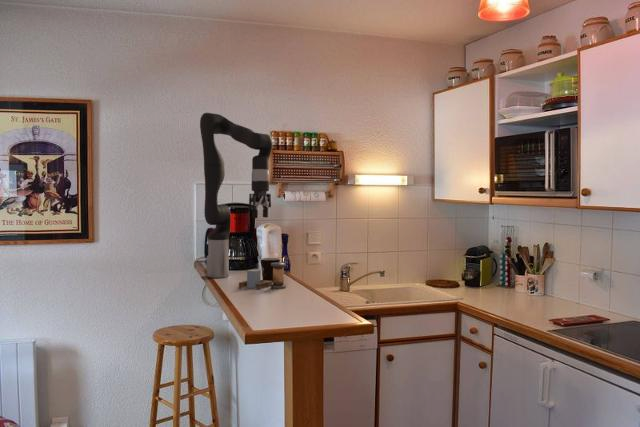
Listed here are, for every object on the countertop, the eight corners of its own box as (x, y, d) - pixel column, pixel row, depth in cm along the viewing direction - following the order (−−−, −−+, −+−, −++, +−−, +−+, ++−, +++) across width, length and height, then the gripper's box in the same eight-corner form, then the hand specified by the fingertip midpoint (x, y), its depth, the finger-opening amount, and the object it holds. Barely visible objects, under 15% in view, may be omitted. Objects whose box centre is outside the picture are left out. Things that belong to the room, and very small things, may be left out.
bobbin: (268, 288, 219) (268, 263, 218) (275, 285, 224) (275, 262, 224) (281, 289, 216) (281, 264, 216) (288, 287, 221) (288, 263, 221)
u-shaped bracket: (239, 287, 220) (239, 282, 220) (252, 283, 229) (252, 279, 229) (259, 289, 216) (260, 284, 215) (272, 285, 225) (272, 280, 225)
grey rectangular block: (247, 287, 220) (247, 270, 219) (252, 286, 223) (252, 269, 223) (255, 288, 218) (255, 271, 218) (260, 286, 222) (260, 270, 221)
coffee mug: (278, 283, 231) (279, 260, 230) (258, 283, 231) (259, 259, 231) (281, 279, 242) (281, 257, 242) (262, 278, 243) (262, 256, 242)
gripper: (261, 180, 238) (261, 217, 239) (243, 179, 225) (243, 218, 226) (276, 180, 235) (276, 217, 236) (259, 179, 222) (259, 218, 223)
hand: (260, 217), depth 231 cm, fingers open, 8 cm apart
